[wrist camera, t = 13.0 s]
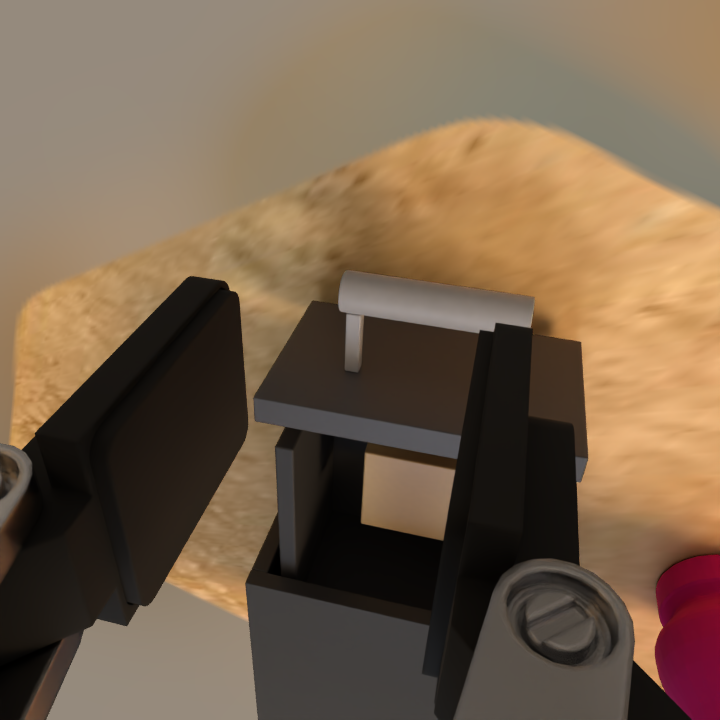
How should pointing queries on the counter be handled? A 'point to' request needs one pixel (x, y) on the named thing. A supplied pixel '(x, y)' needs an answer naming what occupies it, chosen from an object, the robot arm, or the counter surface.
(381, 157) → the counter surface
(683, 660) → the pepper mill
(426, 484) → the block
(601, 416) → the counter surface
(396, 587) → the drawer
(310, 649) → the cabinet
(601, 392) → the counter surface
